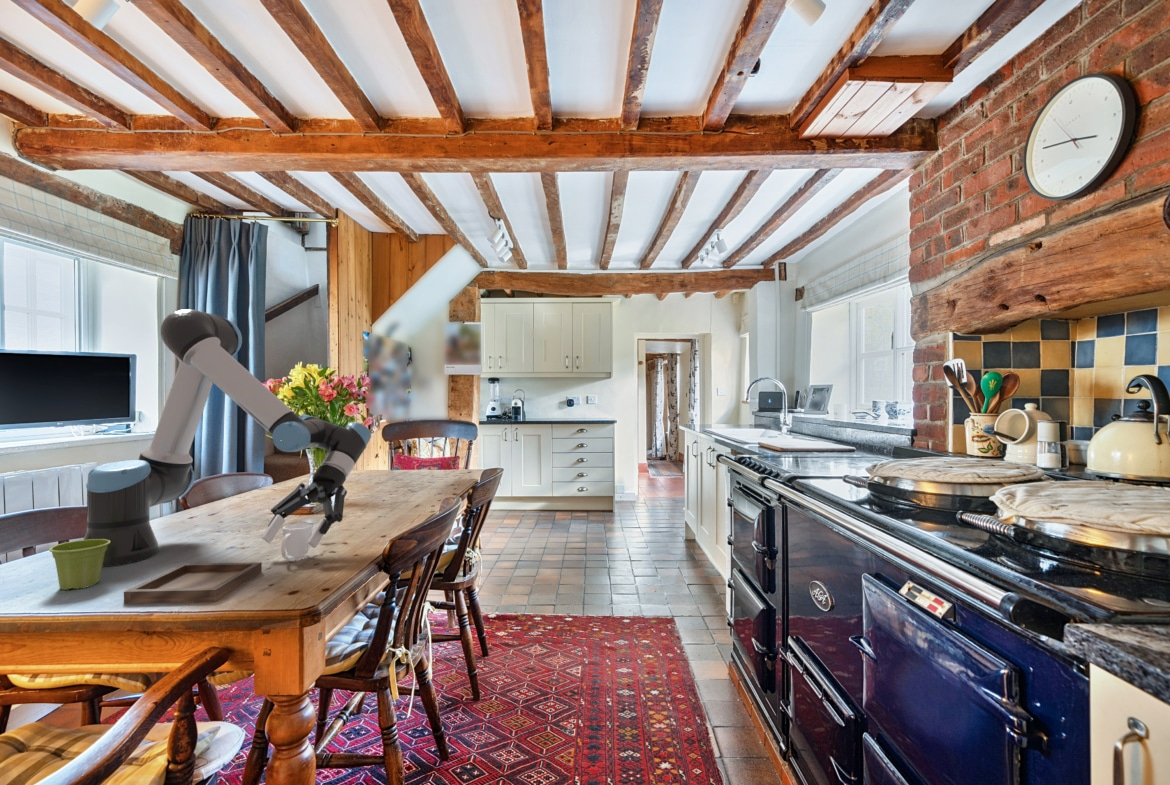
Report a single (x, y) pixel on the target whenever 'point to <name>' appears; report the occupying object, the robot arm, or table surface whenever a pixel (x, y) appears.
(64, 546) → the plant pot
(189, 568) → the tray
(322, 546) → the table surface
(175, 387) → the robot arm
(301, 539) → the cup
